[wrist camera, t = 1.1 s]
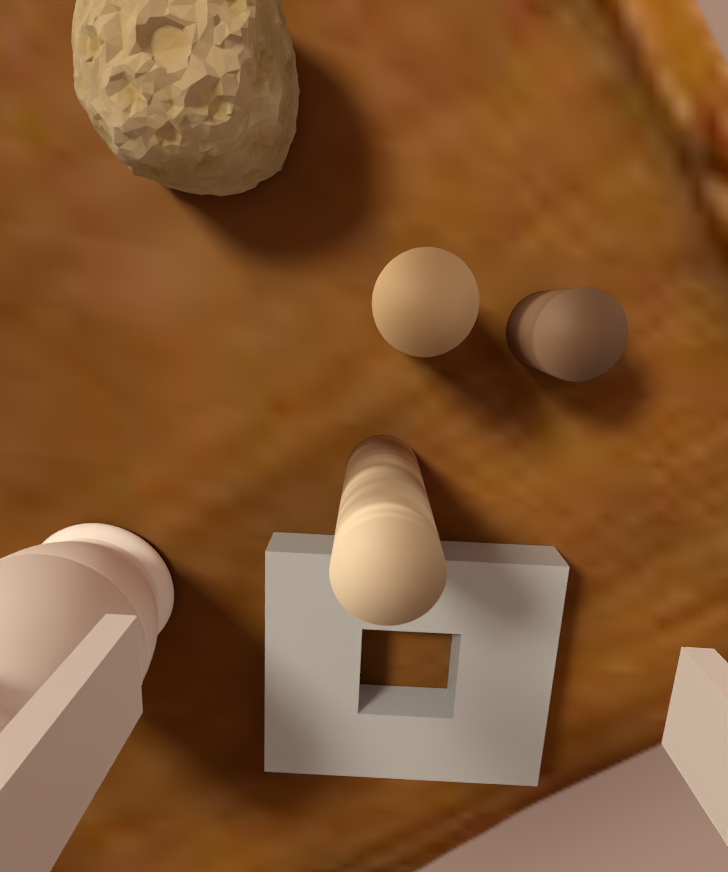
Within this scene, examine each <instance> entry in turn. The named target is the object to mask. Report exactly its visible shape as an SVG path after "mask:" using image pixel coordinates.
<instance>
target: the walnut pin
mask: <svg viewBox="0 0 728 872" xmlns="http://www.w3.org/2000/svg"><path fill="white" fill-rule="evenodd" d="M627 335H628V325H627V320H626V316H625V313H624V311H623V309H622V308H621V306H620V305H619V303H618V302H617V301H616V300H615V299H614V298H613V297H612V296H610V295H609V294H607V293H605V292H603V291H601V290H598V289H594V288H572V289H560V290H548V291H540V292H536V293H533V294H531V295H529V296H527V297H526V298H524V299H523V300H522V301H520V302H519V303H518V304H517V305H516V307H515V308H514V309H513V311H512V313H511V314H510V317H509V319H508V322H507V327H506V338H507V343H508V346H509V349H510V350H511V352H512V354H513V355H514V356H515V358H516V359H517V360H519V361H520V362H521V363H523V364H524V365H526V366H529V367H531V368H534V369H536V370H539V371H541V372H544V373H547V374H549V375H552V376H554V377H557V378H559V379H562V380H565V381H570V382H583V381H588V380H592V379H594V378H597V377H599V376H601V375H602V374H604V373H605V372H607V371H608V370H609V369H610V368H612V367H613V366H614V364H615V363H616V362H617V361H618V359H619V358H620V356H621V355H622V353H623V351H624V348H625V345H626V341H627Z"/></svg>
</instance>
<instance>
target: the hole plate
mask: <svg viewBox="0 0 728 872" xmlns="http://www.w3.org/2000/svg"><path fill="white" fill-rule="evenodd" d="M334 537H335V535H319V534H300V533H280V532H274V533H273V535H272V538H271V540H270V542H269V544H268V547H267V549H266V551H265V750H264V772H282V773H301V774H319V775H338V776H357V777H375V778H394V779H412V780H431V781H450V782H468V783H487V784H506V785H524V786H538V779H539V772H540V765H541V759H542V752H543V745H544V738H545V731H546V724H547V717H548V711H549V704H550V697H551V690H552V683H553V676H554V670H555V663H556V656H557V649H558V642H559V635H560V628H561V622H562V615H563V608H564V601H565V594H566V587H567V580H568V574H569V565H568V564H567V563H566V561H565V560H564V559H563V557H562V556H561V555H560V553H559V552H558V551H557V549H556V548H555V547H554V546H537V545H517V544H497V543H478V542H458V541H440V542H441V546H442V549H443V553H444V556H445V560H446V565H447V579H446V584H445V587H444V590H443V592H442V595H441V597H440V598H439V600H438V601H437V603H436V604H435V605H434V606H433V607H432V608H431V609H430V610H429V611H428V612H427V613H426V614H424V615H423V616H421V617H420V618H418V619H416V620H414V621H411V622H408V623H405V624H401V625H394V626H382V625H375V624H371V623H368V622H365V621H363V620H361V619H359V618H357V617H355V616H354V615H352V614H351V613H349V612H348V611H347V610H346V609H345V608H344V607H343V606H342V605H341V604H340V602H339V601H338V599H337V598H336V596H335V594H334V592H333V590H332V586H331V583H330V577H329V568H330V560H331V555H332V549H333V543H334ZM362 629H370V630H389V631H408V632H428V633H447V634H452V644H451V654H450V665H449V675H448V686H447V689H444V688H425V687H406V686H387V685H368V684H359V681H360V662H361V642H362Z"/></svg>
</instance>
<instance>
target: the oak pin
mask: <svg viewBox="0 0 728 872" xmlns="http://www.w3.org/2000/svg"><path fill="white" fill-rule="evenodd" d="M478 310H479V291H478V287H477V283H476V280H475V278H474V276H473V274H472V272H471V271H470V269H469V268H468V266H467V265H466V264H465V263H464V262H463V261H462V260H461V259H460V258H458V257H457V256H456V255H454V254H452V253H450V252H448V251H446V250H443V249H439V248H434V247H420V248H414V249H411V250H408V251H406V252H404V253H401V254H400V255H398V256H397V257H395V258H394V259H393V260H392V261H390V262H389V263H388V264H387V266H386V267H385V268H384V269H383V271H382V272H381V273H380V275H379V277H378V279H377V281H376V284H375V287H374V291H373V296H372V311H373V317H374V320H375V323H376V325H377V328H378V330H379V331H380V333H381V335H382V336H383V337H384V339H385V340H386V341H387V342H388V343H389V344H390V345H391V346H393V347H394V348H395V349H397V350H399V351H401V352H403V353H405V354H408V355H411V356H415V357H433V356H438V355H441V354H444V353H446V352H448V351H450V350H452V349H453V348H455V347H456V346H458V345H459V344H460V343H461V342H462V341H463V340H464V339H465V338H466V337H467V335H468V334H469V333H470V331H471V329H472V328H473V326H474V324H475V321H476V318H477V315H478Z"/></svg>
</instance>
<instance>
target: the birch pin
mask: <svg viewBox="0 0 728 872" xmlns="http://www.w3.org/2000/svg"><path fill="white" fill-rule="evenodd" d="M329 577H330V583H331V586H332V590H333V592H334V594H335V596H336V598H337V599H338V601H339V602H340V604H341V605H342V606H343V607H344V608H345V609H346V610H347V611H348V612H349V613H351V614H352V615H354V616H355V617H357V618H359V619H361V620H363V621H365V622H368V623H371V624H375V625H382V626H394V625H401V624H405V623H408V622H411V621H414V620H416V619H418V618H420V617H421V616H423V615H424V614H426V613H427V612H428V611H429V610H430V609H431V608H432V607H433V606H434V605H435V604H436V603H437V601H438V600H439V598H440V597H441V595H442V592H443V590H444V587H445V584H446V579H447V565H446V560H445V556H444V553H443V549H442V546H441V542H440V539H439V535H438V532H437V528H436V525H435V521H434V518H433V514H432V510H431V507H430V503H429V500H428V496H427V493H426V489H425V486H424V482H423V479H422V475H421V472H420V468H419V465H418V461H417V458H416V456H415V454H414V452H413V450H412V449H411V448H410V447H409V446H408V445H407V444H406V443H405V442H403V441H402V440H400V439H398V438H395V437H392V436H387V435H379V436H373V437H370V438H368V439H365V440H364V441H362V442H361V443H359V444H358V445H357V446H356V447H355V448H354V450H353V451H352V452H351V454H350V456H349V459H348V462H347V467H346V473H345V479H344V485H343V490H342V496H341V502H340V508H339V514H338V520H337V525H336V531H335V537H334V543H333V549H332V555H331V560H330V568H329Z"/></svg>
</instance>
